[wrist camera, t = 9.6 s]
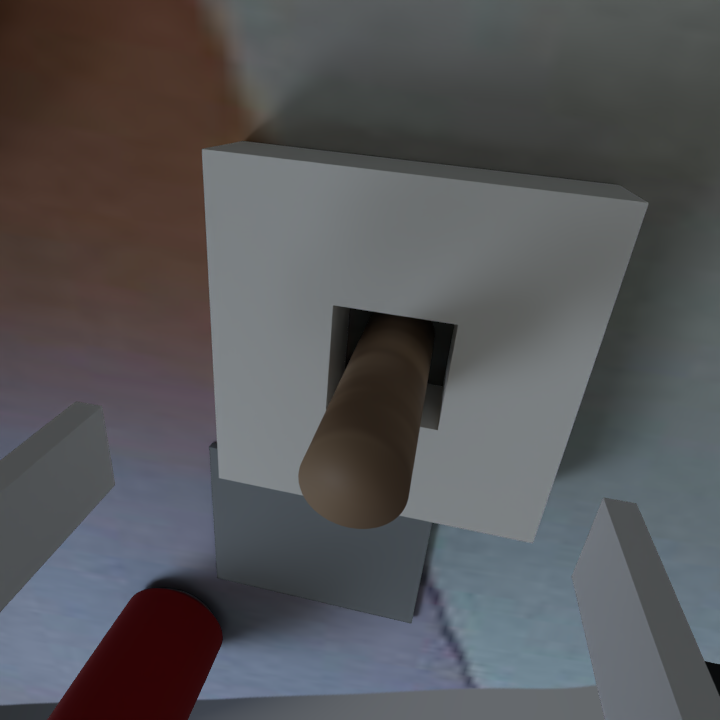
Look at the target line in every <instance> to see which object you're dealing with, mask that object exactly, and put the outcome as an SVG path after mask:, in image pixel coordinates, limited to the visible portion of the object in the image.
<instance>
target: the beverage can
mask: <svg viewBox="0 0 720 720" xmlns="http://www.w3.org/2000/svg"><path fill="white" fill-rule="evenodd" d="M222 640H223V635H222V630H221V627H220V625H219V623H218V621H217V620H216V618H215V617H214V615H213V614H212V612H211V611H210V609H209V608H208V607H207V606H206V605H205V604H204V603H203V602H202V601H200V600H199V599H198V598H196V597H195V596H193V595H191V594H189V593H187V592H184V591H181V590H177V589H171V588H165V589H164V588H151V589H146V590H143V591H140V592H138V593H136V594H135V595H134V596H133V597H132V598H131V599H130V601H129V602H128V604H127V605H126V607H125V608H124V609H123V611H122V612H121V614H120V615H119V616H118V618H117V619H116V621H115V622H114V624H113V625H112V626H111V628H110V629H109V631H108V632H107V634H106V635H105V636H104V638H103V639H102V641H101V642H100V644H99V645H98V647H97V648H96V649H95V651H94V652H93V654H92V655H91V657H90V658H89V660H88V661H87V662H86V664H85V665H84V667H83V668H82V670H81V671H80V673H79V674H78V676H77V677H76V678H75V680H74V681H73V683H72V684H71V686H70V687H69V689H68V690H67V692H66V693H65V695H64V696H63V698H62V699H61V700H60V702H59V703H58V705H57V706H56V708H55V710H54V711H53V712H52V714H51V715H50V717H49V718H48V720H188V718H189V716H190V714H191V711H192V709H193V707H194V705H195V702H196V700H197V698H198V696H199V694H200V692H201V689H202V687H203V685H204V683H205V681H206V678H207V676H208V674H209V672H210V669H211V667H212V665H213V663H214V660H215V658H216V656H217V654H218V651H219V649H220V647H221V644H222Z"/></svg>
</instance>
